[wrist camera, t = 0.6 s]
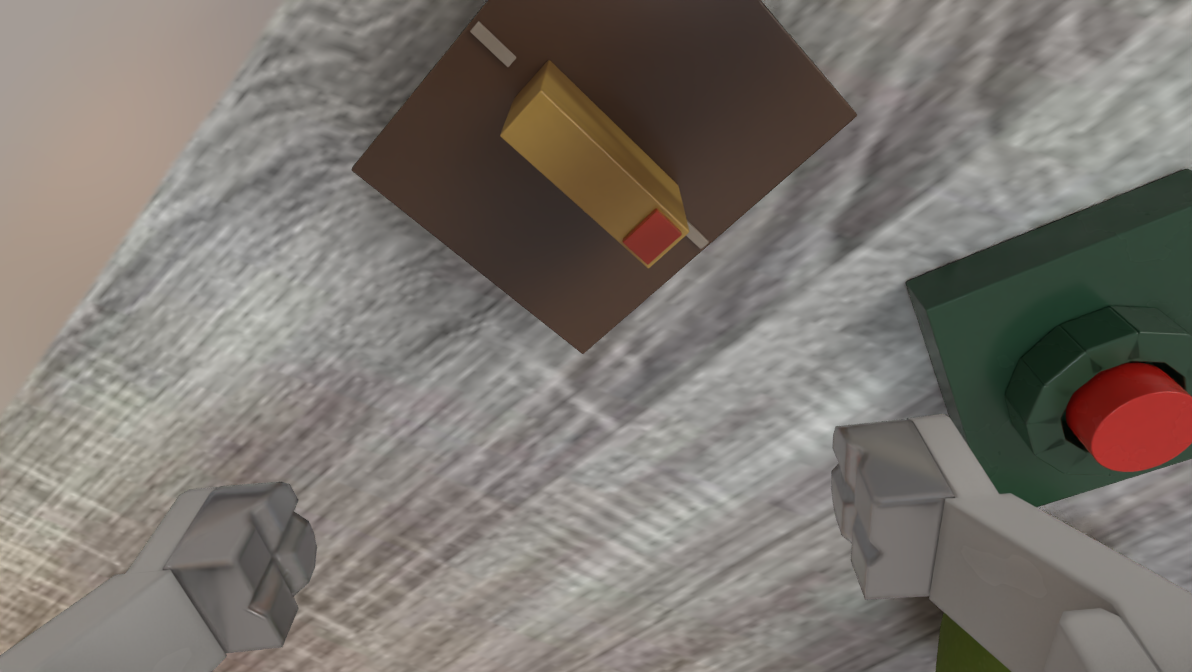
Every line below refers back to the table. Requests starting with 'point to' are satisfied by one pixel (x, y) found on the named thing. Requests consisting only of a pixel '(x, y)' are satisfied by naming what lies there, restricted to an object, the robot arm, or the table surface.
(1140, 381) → the button
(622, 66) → the lock plate
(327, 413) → the table surface
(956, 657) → the apple
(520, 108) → the lock knob
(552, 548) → the table surface
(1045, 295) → the button box
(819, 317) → the table surface
